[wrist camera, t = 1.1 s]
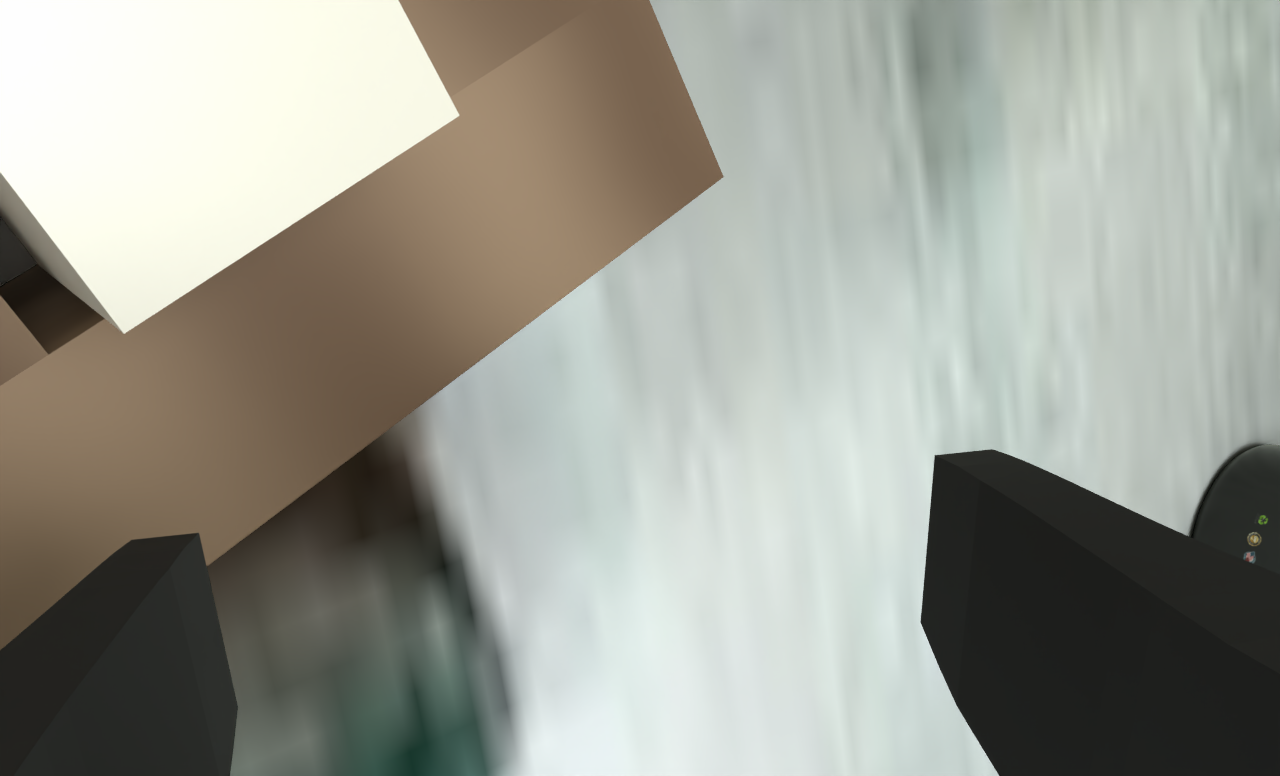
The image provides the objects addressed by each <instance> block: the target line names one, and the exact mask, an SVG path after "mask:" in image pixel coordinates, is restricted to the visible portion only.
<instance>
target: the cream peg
mask: <svg viewBox="0 0 1280 776" xmlns="http://www.w3.org/2000/svg"><path fill="white" fill-rule="evenodd" d="M458 116H460V115H459V113H458V112H457V110H456V108H455V106H454V104H453V102H452V100H451V98H450V96H449V95H448V93H447V91H446V89H445V87H444V85H443V83H442V81H441V80H440V78H439V76H438V74H437V72H436V70H435V68H434V66H433V64H432V63H431V61H430V59H429V57H428V55H427V53H426V51H425V49H424V48H423V46H422V44H421V42H420V40H419V38H418V36H417V34H416V32H415V31H414V29H413V27H412V25H411V23H410V21H409V19H408V17H407V16H406V14H405V12H404V10H403V8H402V6H401V4H400V2H399V0H0V216H1V218H2V219H3V220H4V221H5V223H6V224H7V225H8V227H9V228H10V229H11V230H12V232H13V233H14V234H15V236H16V237H17V238H18V239H19V241H20V242H21V243H22V245H23V246H24V247H25V248H26V250H27V251H28V252H29V253H30V255H31V256H32V257H33V259H34V260H35V261H36V262H37V264H38V265H39V266H40V267H41V268H42V269H44V270H45V271H46V272H47V273H49V274H50V275H51V276H52V277H54V278H55V279H56V280H57V281H59V282H60V283H61V284H62V285H64V286H65V287H66V288H67V289H69V290H70V291H71V292H72V293H74V294H75V295H76V296H77V297H79V298H80V299H81V300H82V301H84V302H85V303H86V304H87V305H89V306H90V307H91V308H92V309H94V310H95V311H96V312H97V313H99V314H100V315H101V316H102V317H104V318H105V319H106V320H107V321H108V322H110V323H111V324H112V325H113V326H115V327H116V328H117V329H118V330H120V331H121V332H122V333H123V334H125V333H126V332H128V331H129V330H131V329H132V328H134V327H135V326H137V325H139V324H140V323H142V322H143V321H145V320H146V319H148V318H149V317H151V316H152V315H154V314H155V313H157V312H159V311H160V310H162V309H163V308H165V307H166V306H168V305H169V304H171V303H172V302H174V301H175V300H177V299H178V298H180V297H182V296H183V295H185V294H186V293H188V292H189V291H191V290H192V289H194V288H195V287H197V286H198V285H200V284H202V283H203V282H205V281H206V280H208V279H209V278H211V277H212V276H214V275H215V274H217V273H218V272H220V271H222V270H223V269H225V268H226V267H228V266H229V265H231V264H232V263H234V262H235V261H237V260H238V259H240V258H242V257H243V256H245V255H246V254H248V253H249V252H251V251H252V250H254V249H255V248H257V247H258V246H260V245H262V244H263V243H265V242H266V241H268V240H269V239H271V238H272V237H274V236H275V235H277V234H278V233H280V232H282V231H283V230H285V229H286V228H288V227H289V226H291V225H292V224H294V223H295V222H297V221H298V220H300V219H301V218H303V217H305V216H306V215H308V214H309V213H311V212H312V211H314V210H315V209H317V208H318V207H320V206H321V205H323V204H325V203H326V202H328V201H329V200H331V199H332V198H334V197H335V196H337V195H338V194H340V193H341V192H343V191H345V190H346V189H348V188H349V187H351V186H352V185H354V184H355V183H357V182H358V181H360V180H361V179H363V178H365V177H366V176H368V175H369V174H371V173H372V172H374V171H375V170H377V169H378V168H380V167H381V166H383V165H385V164H386V163H388V162H389V161H391V160H392V159H394V158H395V157H397V156H398V155H400V154H401V153H403V152H405V151H406V150H408V149H409V148H411V147H412V146H414V145H415V144H417V143H418V142H420V141H421V140H423V139H425V138H426V137H428V136H429V135H431V134H432V133H434V132H435V131H437V130H438V129H440V128H441V127H443V126H444V125H446V124H448V123H449V122H451V121H452V120H454V119H455V118H457V117H458Z"/></svg>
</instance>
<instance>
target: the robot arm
mask: <svg viewBox="0 0 1280 776" xmlns="http://www.w3.org/2000/svg"><path fill="white" fill-rule="evenodd" d="M921 624H922V627H923V629H924V632H925V634H926V636H927V639H928V641H929V644H930V646H931V648H932V651H933V653H934V656H935V658H936V660H937V663H938V665H939V668H940V670H941V672H942V674H943V676H944V679H945V681H946V683H947V685H948V687H949V690H950V692H951V694H952V696H953V698H954V700H955V703H956V705H957V707H958V708H959V710H960V712H961V713H962V715H963V717H964V718H965V720H966V722H967V723H968V725H969V727H970V728H971V730H972V732H973V733H974V735H975V737H976V738H977V740H978V742H979V743H980V745H981V746H982V748H983V750H984V751H985V753H986V755H987V756H988V758H989V760H990V761H991V763H992V764H993V766H994V768H995V769H996V771H997V773H998V774H999V776H1280V574H1277V573H1275V572H1272V571H1270V570H1268V569H1265V568H1263V567H1260V566H1258V565H1255V564H1253V563H1250V562H1248V561H1245V560H1243V559H1241V558H1238V557H1236V556H1233V555H1231V554H1228V553H1226V552H1223V551H1221V550H1218V549H1216V548H1214V547H1211V546H1209V545H1207V544H1205V543H1202V542H1200V541H1198V540H1195V539H1193V538H1191V537H1188V536H1186V535H1184V534H1182V533H1179V532H1177V531H1175V530H1173V529H1171V528H1168V527H1166V526H1164V525H1162V524H1159V523H1157V522H1155V521H1153V520H1151V519H1149V518H1146V517H1144V516H1142V515H1140V514H1138V513H1136V512H1133V511H1131V510H1129V509H1127V508H1125V507H1123V506H1121V505H1118V504H1116V503H1114V502H1112V501H1110V500H1108V499H1106V498H1104V497H1101V496H1099V495H1097V494H1095V493H1093V492H1091V491H1089V490H1087V489H1084V488H1082V487H1080V486H1078V485H1076V484H1074V483H1072V482H1070V481H1067V480H1065V479H1063V478H1061V477H1059V476H1057V475H1055V474H1052V473H1050V472H1048V471H1046V470H1043V469H1041V468H1039V467H1037V466H1034V465H1032V464H1030V463H1027V462H1025V461H1023V460H1020V459H1018V458H1015V457H1013V456H1010V455H1007V454H1004V453H1001V452H999V451H996V450H982V451H973V452H963V453H953V454H944V455H935V460H934V472H933V484H932V496H931V507H930V519H929V531H928V543H927V554H926V566H925V578H924V590H923V602H922V613H921ZM237 710H238V706H237V701H236V697H235V692H234V688H233V683H232V679H231V674H230V670H229V665H228V661H227V656H226V652H225V647H224V643H223V638H222V634H221V629H220V625H219V620H218V616H217V611H216V607H215V602H214V598H213V593H212V589H211V584H210V580H209V575H208V571H207V566H206V562H205V557H204V553H203V548H202V544H201V539H200V535H199V533H191V534H182V535H172V536H163V537H153V538H144V539H134V540H130V541H129V542H128V543H126V544H125V545H124V546H122V547H121V548H120V549H118V550H117V551H116V552H114V553H113V554H112V555H111V556H109V557H108V558H107V559H106V560H105V561H103V562H102V563H101V564H100V565H99V566H98V567H96V568H95V569H94V570H93V571H92V572H91V573H89V574H88V575H87V576H86V577H85V578H84V579H82V580H81V581H80V582H79V583H78V584H77V585H76V586H74V587H73V588H72V589H71V590H70V591H69V592H67V593H66V594H65V595H64V596H63V597H62V598H61V599H59V600H58V601H57V602H56V603H55V604H54V605H53V606H51V607H50V608H49V609H48V610H47V611H46V612H44V613H43V614H42V615H41V616H40V617H39V618H37V619H36V620H35V621H34V622H33V623H32V624H30V625H29V626H28V627H27V628H26V629H25V630H23V631H22V632H21V633H20V634H19V635H18V636H16V637H15V638H14V639H13V640H12V641H11V642H9V643H8V644H7V645H6V646H5V647H3V648H2V649H1V650H0V776H230V769H231V762H232V754H233V745H234V736H235V728H236V719H237Z"/></svg>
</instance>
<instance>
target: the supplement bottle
mask: <svg viewBox="0 0 1280 776" xmlns="http://www.w3.org/2000/svg"><path fill="white" fill-rule="evenodd" d="M1192 538H1193V539H1195V540H1198V541H1200V542H1202V543H1205V544H1207V545H1209V546H1211V547H1214V548H1216V549H1218V550H1221V551H1223V552H1226V553H1228V554H1231V555H1233V556H1236V557H1238V558H1241V559H1243V560H1245V561H1248V562H1250V563H1253V564H1255V565H1258V566H1260V567H1263V568H1265V569H1268V570H1270V571H1272V572H1275V573H1277V574H1280V445H1272V444H1271V445H1261V446H1257V447H1254V448H1251V449H1249V450H1246V451H1245V452H1243V453H1241V454H1240V455H1238V456H1237V457H1236V458H1234V459H1233V460H1232V461H1231V462H1230V463H1229V464H1228V465H1227V466H1226V467H1225V468H1224V469H1223V470H1222V472H1221V473H1220V474H1219V475H1218V477H1217V478H1216V480H1215V481H1214V483H1213V484H1212V486H1211V488H1210V490H1209V492H1208V493H1207V495H1206V497H1205V500H1204V502H1203V504H1202V507H1201V509H1200V512H1199V515H1198V517H1197V521H1196V524H1195V528H1194V532H1193V536H1192Z"/></svg>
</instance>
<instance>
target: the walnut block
mask: <svg viewBox="0 0 1280 776" xmlns="http://www.w3.org/2000/svg"><path fill="white" fill-rule="evenodd" d="M399 2H400V4H401V6H402V8H403V10H404V12H405V14H406V16H407V17H408V19H409V21H410V23H411V25H412V27H413V29H414V31H415V32H416V34H417V36H418V38H419V40H420V42H421V44H422V46H423V48H424V49H425V51H426V53H427V55H428V57H429V59H430V61H431V63H432V64H433V66H434V68H435V70H436V72H437V74H438V76H439V78H440V80H441V81H442V83H443V85H444V87H445V89H446V91H447V93H448V95H449V96H450V98H451V100H452V102H453V104H454V106H455V108H456V110H457V112H458V113H459V115H460V116H458V117H457V118H455V119H454V120H452V121H451V122H449V123H448V124H446V125H444V126H443V127H441V128H440V129H438V130H437V131H435V132H434V133H432V134H431V135H429V136H428V137H426V138H425V139H423V140H421V141H420V142H418V143H417V144H415V145H414V146H412V147H411V148H409V149H408V150H406V151H405V152H403V153H401V154H400V155H398V156H397V157H395V158H394V159H392V160H391V161H389V162H388V163H386V164H385V165H383V166H381V167H380V168H378V169H377V170H375V171H374V172H372V173H371V174H369V175H368V176H366V177H365V178H363V179H361V180H360V181H358V182H357V183H355V184H354V185H352V186H351V187H349V188H348V189H346V190H345V191H343V192H341V193H340V194H338V195H337V196H335V197H334V198H332V199H331V200H329V201H328V202H326V203H325V204H323V205H321V206H320V207H318V208H317V209H315V210H314V211H312V212H311V213H309V214H308V215H306V216H305V217H303V218H301V219H300V220H298V221H297V222H295V223H294V224H292V225H291V226H289V227H288V228H286V229H285V230H283V231H282V232H280V233H278V234H277V235H275V236H274V237H272V238H271V239H269V240H268V241H266V242H265V243H263V244H262V245H260V246H258V247H257V248H255V249H254V250H252V251H251V252H249V253H248V254H246V255H245V256H243V257H242V258H240V259H238V260H237V261H235V262H234V263H232V264H231V265H229V266H228V267H226V268H225V269H223V270H222V271H220V272H218V273H217V274H215V275H214V276H212V277H211V278H209V279H208V280H206V281H205V282H203V283H202V284H200V285H198V286H197V287H195V288H194V289H192V290H191V291H189V292H188V293H186V294H185V295H183V296H182V297H180V298H178V299H177V300H175V301H174V302H172V303H171V304H169V305H168V306H166V307H165V308H163V309H162V310H160V311H159V312H157V313H155V314H154V315H152V316H151V317H149V318H148V319H146V320H145V321H143V322H142V323H140V324H139V325H137V326H135V327H134V328H132V329H131V330H129V331H128V332H126V333H125V334H123V333H122V332H121V331H120V330H118V329H117V328H116V327H115V326H113V325H112V324H111V323H110V322H108V321H107V320H106V319H105V318H104V317H102V316H101V315H100V314H99V313H97V312H96V311H95V310H94V309H92V308H91V307H90V306H89V305H87V304H86V303H85V302H84V301H82V300H81V299H80V298H79V297H77V296H76V295H75V294H74V293H72V292H71V291H70V290H69V289H67V288H66V287H65V286H64V285H62V284H61V283H60V282H59V281H57V280H56V279H55V278H54V277H52V276H51V275H50V274H49V273H47V272H46V271H45V270H44V269H42V268H41V267H40V266H39V265H36V266H34V267H33V268H31V269H29V270H28V271H26V272H24V273H23V274H21V275H19V276H18V277H16V278H14V279H13V280H11V281H10V282H8V283H6V284H5V285H3V286H1V287H0V650H1V649H2V648H3V647H5V646H6V645H7V644H8V643H9V642H11V641H12V640H13V639H14V638H15V637H16V636H18V635H19V634H20V633H21V632H22V631H23V630H25V629H26V628H27V627H28V626H29V625H30V624H32V623H33V622H34V621H35V620H36V619H37V618H39V617H40V616H41V615H42V614H43V613H44V612H46V611H47V610H48V609H49V608H50V607H51V606H53V605H54V604H55V603H56V602H57V601H58V600H59V599H61V598H62V597H63V596H64V595H65V594H66V593H67V592H69V591H70V590H71V589H72V588H73V587H74V586H76V585H77V584H78V583H79V582H80V581H81V580H82V579H84V578H85V577H86V576H87V575H88V574H89V573H91V572H92V571H93V570H94V569H95V568H96V567H98V566H99V565H100V564H101V563H102V562H103V561H105V560H106V559H107V558H108V557H109V556H111V555H112V554H113V553H114V552H116V551H117V550H118V549H120V548H121V547H122V546H124V545H125V544H126V543H128V542H129V541H130V540H134V539H144V538H153V537H163V536H172V535H182V534H191V533H199V535H200V539H201V544H202V548H203V553H204V557H205V562H206V566H208V565H209V564H211V563H212V562H213V561H215V560H216V559H217V558H219V557H220V556H221V555H223V554H224V553H225V552H226V551H228V550H229V549H230V548H232V547H233V546H234V545H236V544H237V543H238V542H240V541H241V540H242V539H244V538H245V537H246V536H248V535H249V534H250V533H252V532H253V531H254V530H256V529H257V528H258V527H260V526H261V525H262V524H264V523H265V522H266V521H268V520H269V519H270V518H272V517H273V516H274V515H276V514H277V513H278V512H280V511H281V510H282V509H284V508H285V507H286V506H288V505H289V504H290V503H291V502H293V501H294V500H295V499H297V498H298V497H299V496H301V495H302V494H303V493H305V492H306V491H307V490H309V489H310V488H311V487H313V486H314V485H315V484H317V483H318V482H319V481H321V480H322V479H323V478H325V477H326V476H327V475H329V474H330V473H331V472H333V471H334V470H335V469H337V468H338V467H339V466H341V465H342V464H343V463H345V462H346V461H347V460H349V459H350V458H351V457H353V456H354V455H355V454H357V453H358V452H359V451H360V450H362V449H363V448H364V447H366V446H367V445H368V444H370V443H371V442H372V441H374V440H375V439H376V438H378V437H379V436H380V435H382V434H383V433H384V432H386V431H387V430H388V429H390V428H391V427H392V426H394V425H395V424H396V423H398V422H399V421H400V420H402V419H403V418H404V417H406V416H407V415H408V414H410V413H411V412H412V411H414V410H415V409H416V408H418V407H419V406H420V405H422V404H423V403H424V402H426V401H427V400H428V399H429V398H431V397H432V396H433V395H435V394H436V393H437V392H439V391H440V390H441V389H443V388H444V387H445V386H447V385H448V384H449V383H451V382H452V381H453V380H455V379H456V378H457V377H459V376H460V375H461V374H463V373H464V372H465V371H467V370H468V369H469V368H471V367H472V366H473V365H475V364H476V363H477V362H479V361H480V360H481V359H483V358H484V357H485V356H487V355H488V354H489V353H491V352H492V351H493V350H495V349H496V348H497V347H498V346H500V345H501V344H502V343H504V342H505V341H506V340H508V339H509V338H510V337H512V336H513V335H514V334H516V333H517V332H518V331H520V330H521V329H522V328H524V327H525V326H526V325H528V324H529V323H530V322H532V321H533V320H534V319H536V318H537V317H538V316H540V315H541V314H542V313H544V312H545V311H546V310H548V309H549V308H550V307H552V306H553V305H554V304H556V303H557V302H558V301H560V300H561V299H562V298H563V297H565V296H566V295H567V294H569V293H570V292H571V291H573V290H574V289H575V288H577V287H578V286H579V285H581V284H582V283H583V282H585V281H586V280H587V279H589V278H590V277H591V276H593V275H594V274H595V273H597V272H598V271H599V270H601V269H602V268H603V267H605V266H606V265H607V264H609V263H610V262H611V261H613V260H614V259H615V258H617V257H618V256H619V255H621V254H622V253H623V252H625V251H626V250H627V249H629V248H630V247H631V246H632V245H634V244H635V243H636V242H638V241H639V240H640V239H642V238H643V237H644V236H646V235H647V234H648V233H650V232H651V231H652V230H654V229H655V228H656V227H658V226H659V225H660V224H662V223H663V222H664V221H666V220H667V219H668V218H670V217H671V216H672V215H674V214H675V213H676V212H678V211H679V210H680V209H682V208H683V207H684V206H686V205H687V204H688V203H690V202H691V201H692V200H694V199H695V198H696V197H698V196H699V195H700V194H701V193H703V192H704V191H705V190H707V189H708V188H709V187H711V186H712V185H713V184H715V183H716V182H717V181H719V180H720V179H721V178H723V175H722V172H721V170H720V167H719V165H718V163H717V160H716V158H715V156H714V153H713V151H712V148H711V146H710V144H709V141H708V139H707V137H706V134H705V132H704V129H703V127H702V125H701V122H700V120H699V118H698V115H697V113H696V110H695V108H694V106H693V103H692V101H691V99H690V96H689V94H688V91H687V89H686V87H685V84H684V82H683V80H682V77H681V75H680V72H679V70H678V68H677V65H676V63H675V61H674V58H673V56H672V53H671V51H670V49H669V46H668V44H667V42H666V39H665V37H664V34H663V32H662V30H661V27H660V25H659V23H658V20H657V18H656V15H655V13H654V11H653V8H652V6H651V4H650V1H649V0H399Z"/></svg>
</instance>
